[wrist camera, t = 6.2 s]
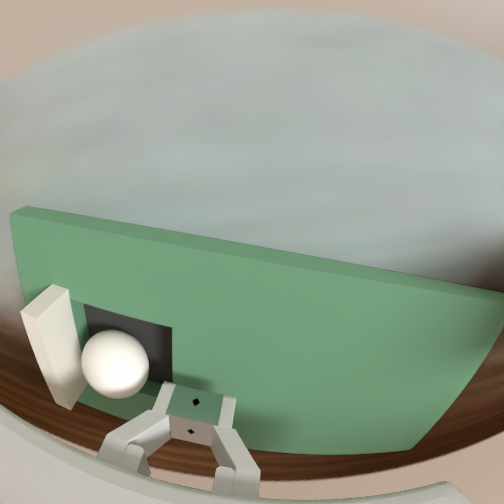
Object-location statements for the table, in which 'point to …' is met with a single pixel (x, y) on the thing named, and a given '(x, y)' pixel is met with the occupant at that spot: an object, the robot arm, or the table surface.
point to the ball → (115, 364)
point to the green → (253, 331)
